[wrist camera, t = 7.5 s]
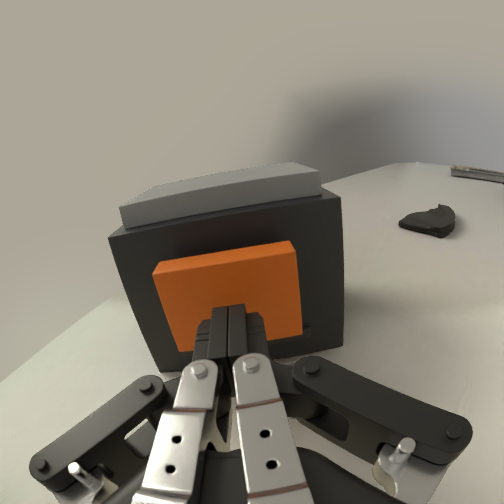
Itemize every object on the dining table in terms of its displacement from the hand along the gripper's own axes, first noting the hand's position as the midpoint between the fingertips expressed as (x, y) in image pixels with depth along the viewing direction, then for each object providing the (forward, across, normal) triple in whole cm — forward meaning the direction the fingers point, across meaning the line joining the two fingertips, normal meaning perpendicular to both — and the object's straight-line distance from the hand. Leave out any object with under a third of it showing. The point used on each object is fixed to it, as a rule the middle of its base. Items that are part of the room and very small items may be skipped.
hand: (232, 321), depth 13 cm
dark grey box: (+9, 0, +7) cm, 12 cm away
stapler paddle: (+2, 0, +3) cm, 3 cm away
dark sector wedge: (+25, -31, +7) cm, 41 cm away
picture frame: (+60, -84, +7) cm, 104 cm away
